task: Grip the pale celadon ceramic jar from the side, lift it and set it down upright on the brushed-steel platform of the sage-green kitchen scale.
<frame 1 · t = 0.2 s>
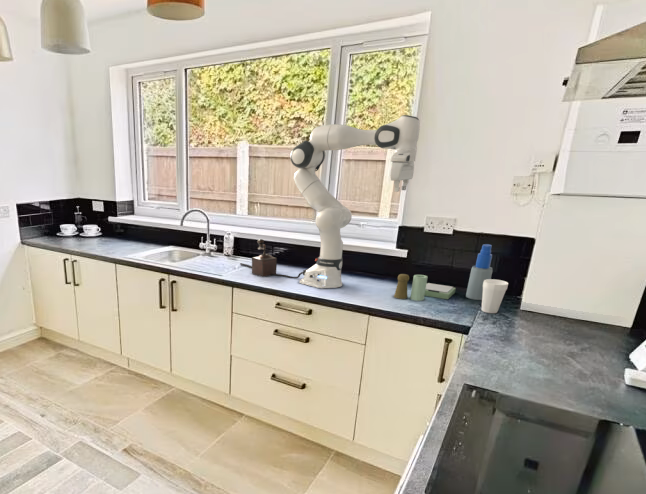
hand: (400, 190, 203), 48 cm above the worktop, tool pointing down, fingers open, 8 cm apart
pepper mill: (261, 273, 262), on the worktop
spray bottle: (475, 297, 219), on the worktop
scale: (436, 293, 225), on the worktop
foam cup: (489, 311, 200), on the worktop
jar: (416, 299, 216), on the worktop
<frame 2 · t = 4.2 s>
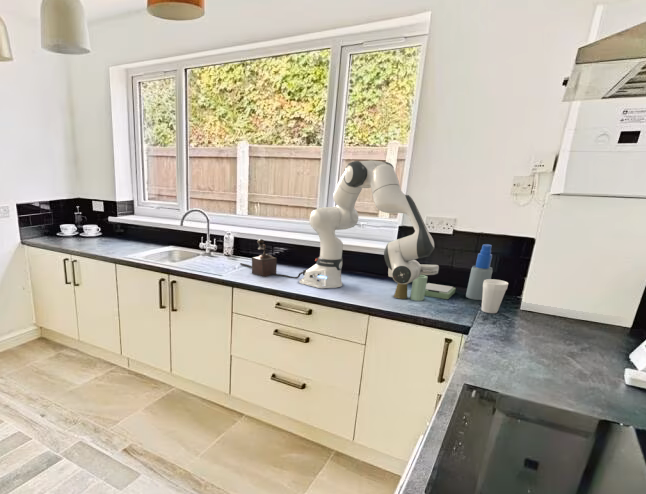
hand: (415, 266, 201), 17 cm above the worktop, tool horizontal, fingers open, 8 cm apart
nothing on the worktop moved.
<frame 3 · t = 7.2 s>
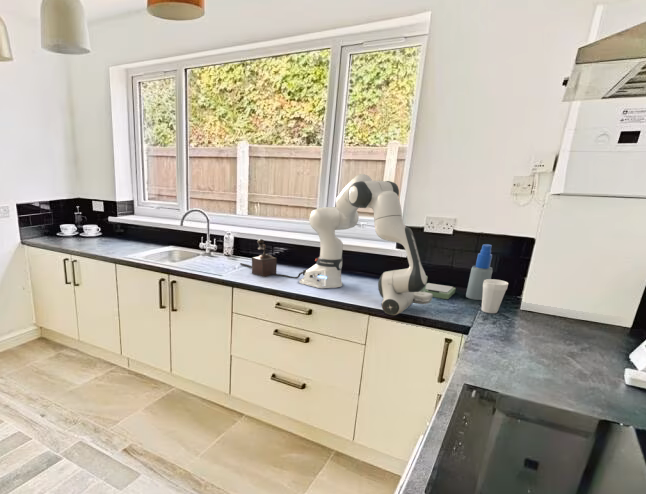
hand: (412, 291, 207), 6 cm above the worktop, tool horizontal, fingers open, 8 cm apart
nothing on the worktop moved.
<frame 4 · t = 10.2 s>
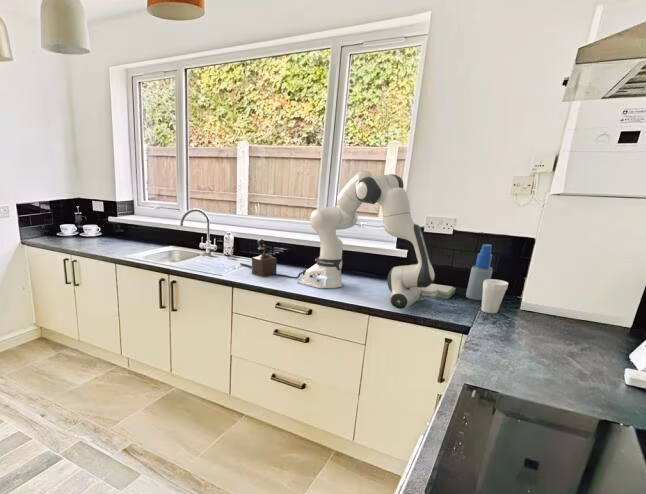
hand: (419, 286, 214), 6 cm above the worktop, tool horizontal, fingers closed on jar, 6 cm apart
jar: (416, 299, 216), on the worktop, touching gripper
everything else where it was.
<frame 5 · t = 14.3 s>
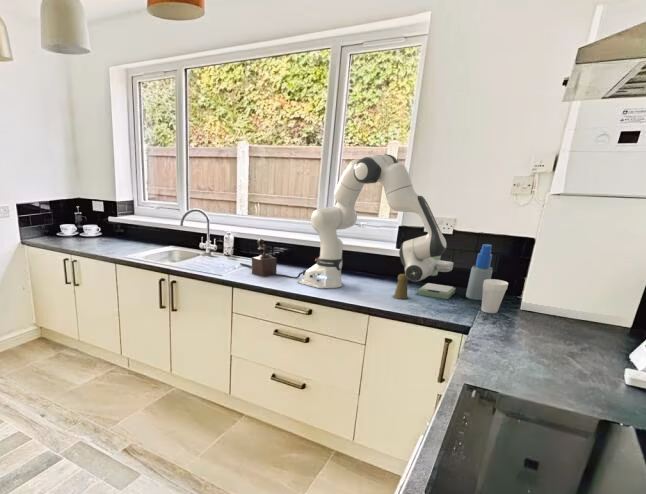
hand: (433, 261, 214), 17 cm above the worktop, tool horizontal, fingers closed on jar, 6 cm apart
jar: (430, 274, 216), point 11 cm above the worktop, touching gripper
everything else where it was.
when the fingers open (9 cm above the worktop, at t = 18.4 s): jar stays where it is, resting on scale.
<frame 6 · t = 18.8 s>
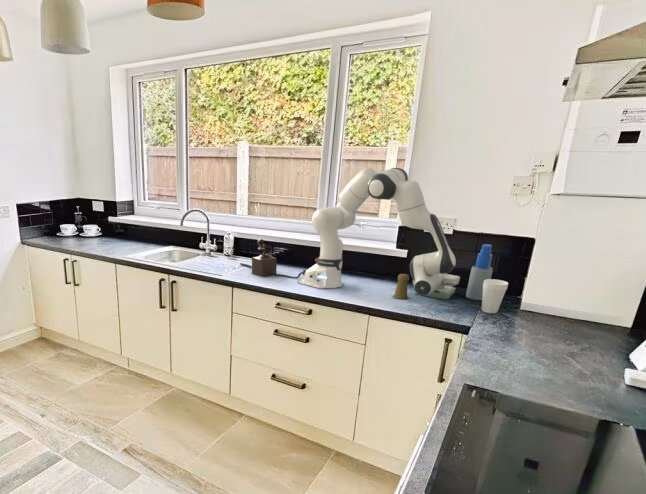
hand: (440, 274, 222), 9 cm above the worktop, tool horizontal, fingers open, 8 cm apart
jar: (437, 287, 223), point 3 cm above the worktop, touching scale
everything else where it was.
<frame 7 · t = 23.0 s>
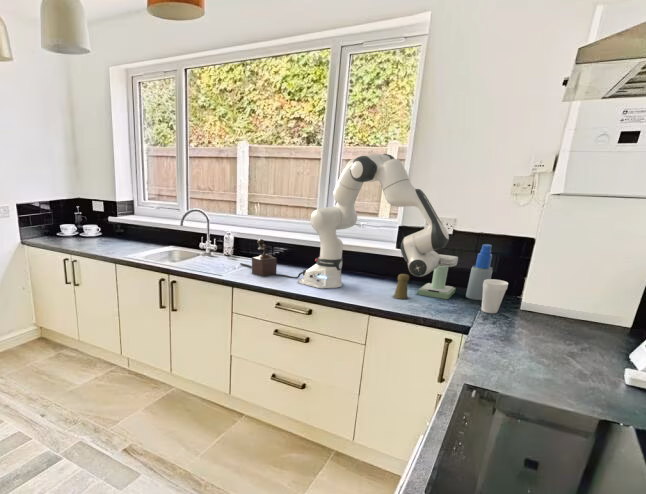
hand: (437, 255, 207), 21 cm above the worktop, tool horizontal, fingers open, 8 cm apart
nothing on the worktop moved.
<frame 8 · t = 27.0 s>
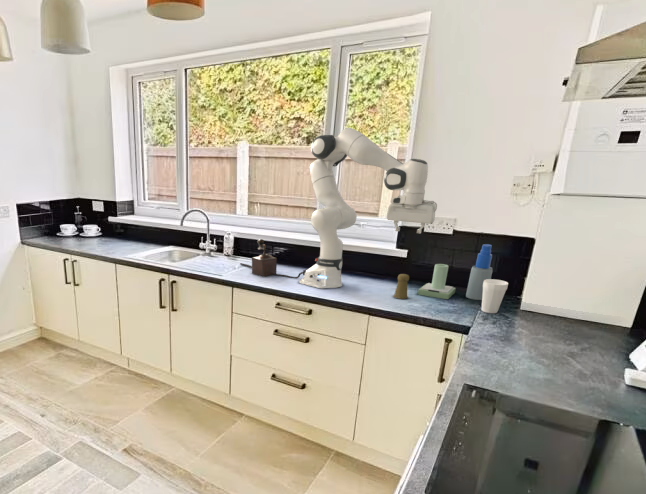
hand: (408, 232, 203), 31 cm above the worktop, tool pointing down, fingers open, 8 cm apart
nothing on the worktop moved.
at the end: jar inside the target area on the scale (0.2 cm from its centre), point 3.1 cm above the scale's base; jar tilted 0°; the gripper is holding nothing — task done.
